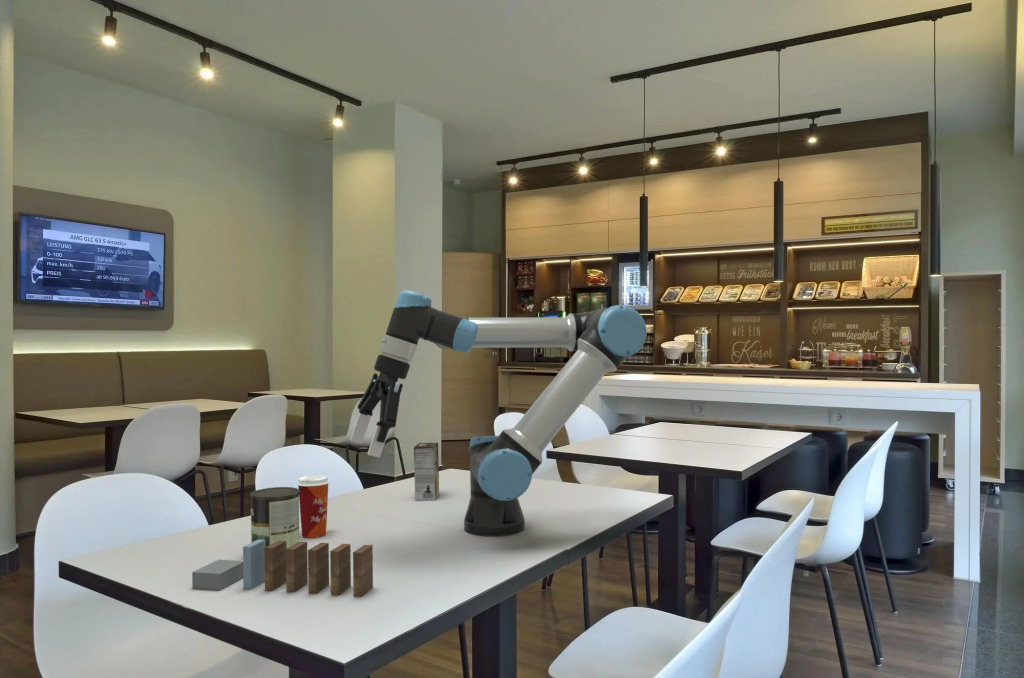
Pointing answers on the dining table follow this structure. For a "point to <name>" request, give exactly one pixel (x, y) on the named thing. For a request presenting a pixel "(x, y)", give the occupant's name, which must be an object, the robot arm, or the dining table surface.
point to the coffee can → (275, 515)
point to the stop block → (217, 575)
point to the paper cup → (313, 505)
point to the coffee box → (426, 471)
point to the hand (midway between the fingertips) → (364, 448)
